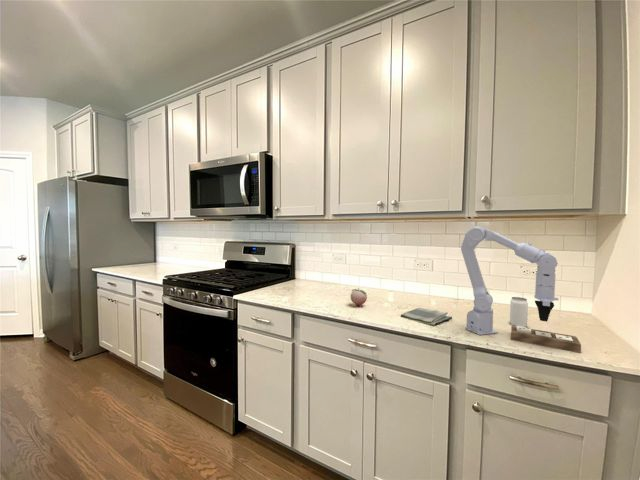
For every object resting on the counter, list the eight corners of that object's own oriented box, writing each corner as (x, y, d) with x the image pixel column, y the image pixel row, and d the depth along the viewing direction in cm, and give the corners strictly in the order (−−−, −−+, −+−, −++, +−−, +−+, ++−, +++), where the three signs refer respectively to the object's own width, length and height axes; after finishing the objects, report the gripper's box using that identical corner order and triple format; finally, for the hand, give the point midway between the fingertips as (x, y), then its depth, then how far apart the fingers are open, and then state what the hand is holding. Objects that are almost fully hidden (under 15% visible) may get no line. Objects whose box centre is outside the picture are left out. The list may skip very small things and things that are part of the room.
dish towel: (399, 317, 136) (399, 311, 136) (418, 311, 148) (419, 305, 148) (435, 328, 122) (435, 321, 122) (454, 320, 133) (454, 313, 133)
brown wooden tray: (511, 339, 108) (511, 332, 108) (511, 332, 116) (511, 325, 116) (580, 352, 97) (581, 344, 97) (575, 344, 104) (576, 336, 104)
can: (510, 321, 130) (511, 296, 130) (527, 324, 126) (528, 298, 126) (508, 325, 125) (509, 298, 125) (526, 328, 121) (527, 301, 121)
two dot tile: (556, 346, 102) (556, 337, 102) (554, 341, 106) (555, 333, 106) (573, 349, 100) (573, 340, 100) (570, 344, 104) (571, 336, 103)
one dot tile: (535, 342, 106) (536, 334, 106) (534, 338, 110) (535, 330, 110) (551, 345, 103) (551, 336, 103) (550, 341, 107) (550, 333, 107)
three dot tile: (516, 336, 109) (516, 328, 109) (516, 332, 113) (516, 325, 113) (531, 339, 107) (531, 331, 106) (530, 335, 110) (530, 327, 110)
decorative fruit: (347, 306, 153) (347, 288, 153) (352, 303, 160) (353, 286, 160) (364, 309, 149) (364, 290, 148) (368, 305, 156) (369, 287, 156)
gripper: (561, 290, 97) (559, 328, 98) (556, 283, 109) (554, 317, 110) (536, 287, 101) (534, 324, 102) (533, 281, 113) (532, 314, 114)
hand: (543, 320), depth 106 cm, fingers closed
